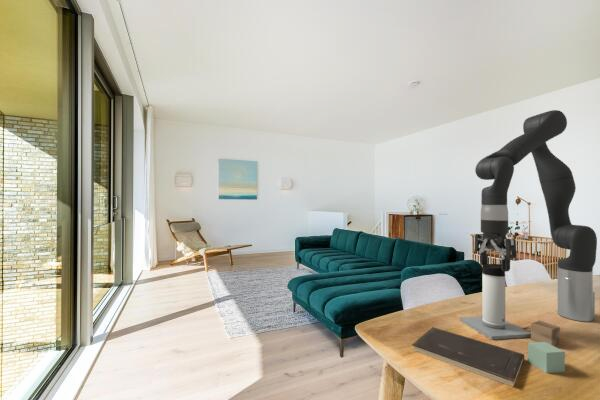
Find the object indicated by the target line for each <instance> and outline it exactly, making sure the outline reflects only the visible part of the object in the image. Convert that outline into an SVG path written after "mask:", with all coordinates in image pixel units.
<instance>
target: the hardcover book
mask: <svg viewBox="0 0 600 400" xmlns="http://www.w3.org/2000/svg"><path fill="white" fill-rule="evenodd" d="M411 345H412V347H413V351H416V352H418V353H420V354H423V355H425V356H429V357H431V358H434V359H437V360H439V361H442V362H445V363H447V364H450V365H453V366H455V367H457V368H460V369H464V370H467V371H468V372H472V373H474V374H478V375H480V376H483V377H485V378H488V379H490V380H493V381H496V382H499V383H502V384H505V385H506V386H509V387H510V386H511V387H514V386H515V383H516V380H517V377H518V375H519V373H520V370H521V367H522V364H523V361H525V354H524V353H521V352H517V351H515V350H511V349H507V348H505V347H501V346H498V345H494V344H491V343H488V342H485V341H481V340H479V339H478V340H477V339H474V338H471V337H467V336H464V335H461V334H457V333H455V332H451V331H448V330H444V329H441V328H437V327H434V326H432V327H431V328H429V330H427V331H426V332H425V333H424V334H423V335H421V337H419V338H418V339H417V340H416V341H415V342H413V343H412V344H411Z"/></svg>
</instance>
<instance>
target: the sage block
mask: <svg viewBox="0 0 600 400" xmlns="http://www.w3.org/2000/svg"><path fill="white" fill-rule="evenodd" d="M565 354H566V352H565V351H564V350H563V349H561V348H558V347H557V346H552V345H550V344H549V343H547V342H535V341H531V342H528V343H527V362H528V363H529V364H531V365H532V366H534V367H535V368H537V369H539V370H541V371H542V372H544V373H545V374H550V373H551V374H555V373H565V372H566V370H565V367H566V365H565V364H566V363H565V362H566V357H565V356H566V355H565Z"/></svg>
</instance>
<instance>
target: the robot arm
mask: <svg viewBox="0 0 600 400" xmlns="http://www.w3.org/2000/svg"><path fill="white" fill-rule="evenodd" d="M522 125H523V126H522V129H523V134H521V135H519V136H516V137H514V138H513V139H511V140H510V141H509V142H508V143H506V144H505V145H504V146H502V147H501V148H500V149H499V150H496V151H495V152H492V153H491V154H489V155H486V156H485V157H483V158H482V159H480V160H479V161H478V162H477V164H476V166H475V169H474V170H475V175H476V176H477V177H478V178H479V179H481V180H484V181H488V180H490V181H491V180H493V183H492V184H491V185H490V186H487V187H484V188H482V190H481V199H480V200H481V203H480V204H481V207H480V232H481V233H478V234H477V233H476V234H475V235H474V239H475V241H474V251H475V252H477V253H478V254H479V262H480V265H481V266H483V265H486V264H489V254H488V253H489V252H490V251H491V250H493V251H495V252H496V253H497V254H499V257H501V259H500V264H501V270H502V271H504V272H505V273H506V272H509V271H510V270H511V260H513V259H517V242H516V239H515V238H507V234H508V233H509V209H508V191H509V189H510V188H509V187H510V186H511V185H510V184H511V181H512V179H513V175H514V172H515V166H516V165H517V164H519V163H520V162H521V161H523V159H525V158H526V157H527V156H528V155H529V154H530V153H531V155H532V158H533V160H534V164H535V167H536V171H537V176H538V180H539V185H540V188H541V191H542V194H543V198H544V202H545V206H546V210H547V214H548V222H549V229H550V230H549V231H550V235H551V239H552V242H553V244H555V246H556V247H558V248H560V249H563V250H570V251H569V255H568V256H567V257H565V258H560V259H558V260H557V308H556V309H557V314H558V315H559V316H561V317H563V318H566V319H568V320H569V319H570V320H573V321H578V322H592V321H593V320H596V319H595V317H596V316H595V311H596V309H595V308H596V304H595V300H596V295H595V294H596V293H595V292H594V291H593V289H594V288H593V286H594V285H593V284H594V283H593V282H594V280H593V277H594V275H593V273H594V266H595V264H596V260H597V249H598V248H597V246H598V236H597V233H596V231H595V230H594V229H593V228H592V227H590V226H588V225H587V226H586V225H580V224H578V225H577V224H572V221H571V218H570V214H569V213H570V212H569V208H570V205H571V204H572V203H571V202H572V201H573V199H574V196H575V193H576V182H575V179H574V178H575V177H574V175H573V172H572V170H571V168H570V167H569V166H568V165H567V164H566V163H564V161H562V160H561V159H559V157H557V156H556V155H554V153H552V151H551V150H550V149H549V147H548V145H547V142H549V140H552V139H553V138H555V137H557V136H560V135H561V134H562V133H564V132H565V131H566V129H567V125H568V119H567V116H566V114H565V113H564V112H562V111H560V110H557V109H554V110H553V109H552V110H549V111H545V112H541V113H537V114H536V115H533V116H530V117H527V118H526V119H525V120H524V122H523V124H522Z"/></svg>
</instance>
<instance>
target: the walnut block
mask: <svg viewBox="0 0 600 400" xmlns="http://www.w3.org/2000/svg"><path fill="white" fill-rule="evenodd" d="M560 330H561V327H560V326H558V325H555V324H552V323H548V322H546V321H542V320H537V321H534V322H532V323H530V333H531V337H530V340H531V342H547V343H549V344H550V345H552V346H554V347H557V345H559V344H560V343H561V342H560V341H561V339H560V337H561V336H560V335H561V331H560Z"/></svg>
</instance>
